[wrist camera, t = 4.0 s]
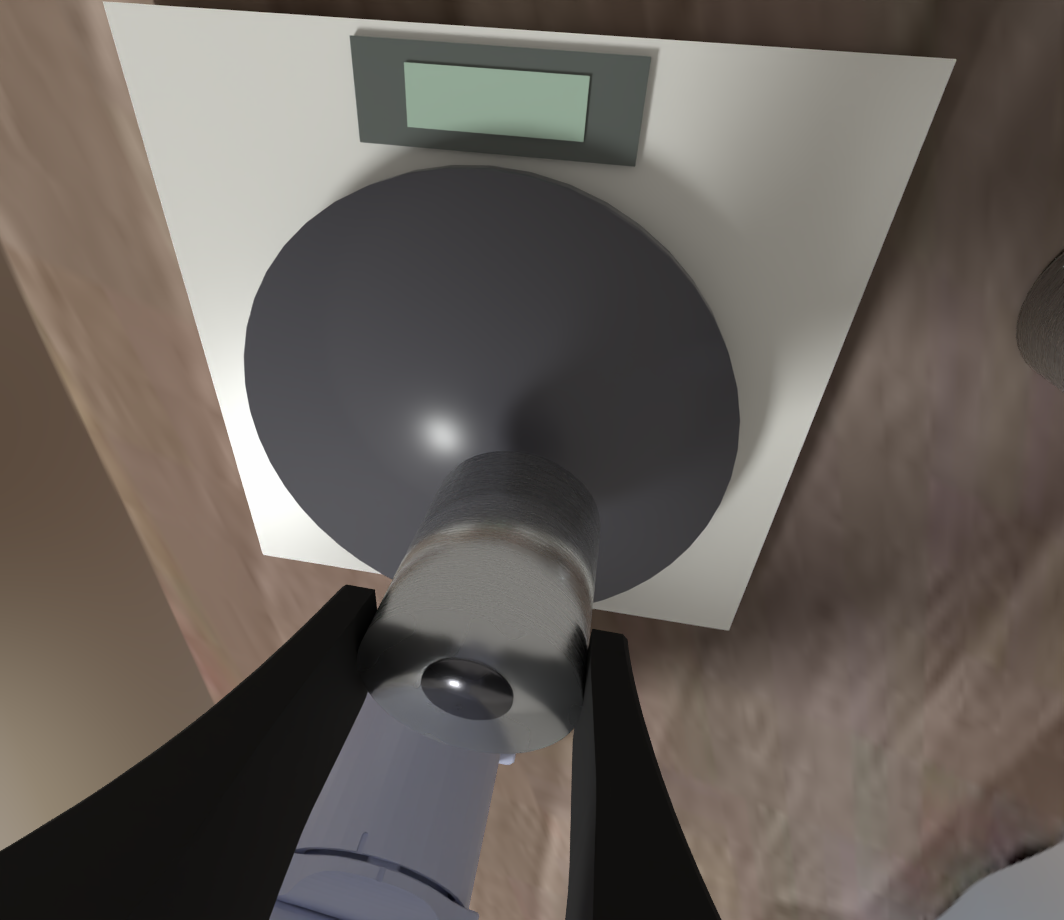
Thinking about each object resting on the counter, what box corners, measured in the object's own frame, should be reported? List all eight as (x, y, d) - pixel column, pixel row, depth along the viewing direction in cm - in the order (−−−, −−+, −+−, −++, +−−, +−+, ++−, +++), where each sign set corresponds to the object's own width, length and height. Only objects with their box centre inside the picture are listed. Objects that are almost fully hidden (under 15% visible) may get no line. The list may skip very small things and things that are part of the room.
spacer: (591, 592, 16) (571, 774, 12) (440, 568, 16) (369, 734, 12) (611, 463, 13) (594, 636, 9) (431, 440, 14) (339, 594, 10)
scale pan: (676, 622, 20) (678, 641, 19) (303, 561, 21) (292, 577, 21) (811, 194, 12) (820, 201, 11) (203, 139, 13) (181, 142, 13)
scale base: (724, 605, 22) (730, 639, 20) (279, 534, 23) (257, 561, 22) (930, 60, 12) (966, 58, 11) (141, 7, 14) (88, -1, 12)
